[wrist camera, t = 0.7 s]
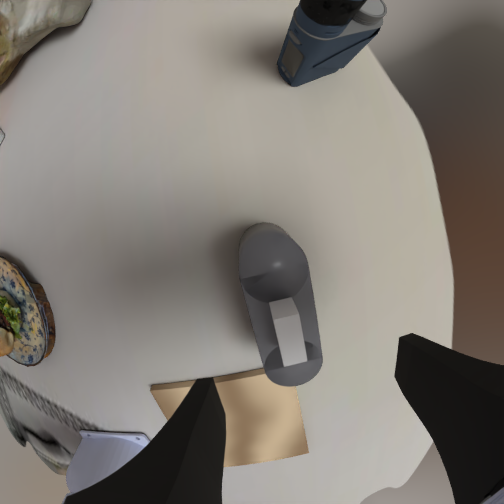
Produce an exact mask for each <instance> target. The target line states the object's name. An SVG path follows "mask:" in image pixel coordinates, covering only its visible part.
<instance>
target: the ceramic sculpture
mask: <svg viewBox="0 0 504 504" xmlns="http://www.w3.org/2000/svg"><path fill="white" fill-rule="evenodd" d="M90 4H91V0H0V85H2V84H3V83H4V82H5V81H6V80H7V78H8V77H9V76H10V74H11V73H12V71H13V70H14V68H15V67H16V65H17V64H18V63H19V61H20V60H21V58H22V56H23V55H24V54H25V53H26V52H27V51H28V50H30V49H31V48H32V47H33V46H34V45H36V44H37V43H38V42H39V41H40V40H41V39H42V38H44V37H45V36H47V35H48V34H49V33H51V32H52V31H53V30H54V29H56V28H58V27H66V26H71V25H75V24H77V23H79V22H80V21H81V20H82V18H83V16H84V14H85V12H86V11H87V9H88V8H89V6H90Z"/></svg>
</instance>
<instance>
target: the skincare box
mask: <svg viewBox="0 0 504 504" xmlns="http://www.w3.org/2000/svg"><path fill="white" fill-rule="evenodd" d="M3 139H4V134H3V132H2V131H1V130H0V144H1V142H2V140H3Z"/></svg>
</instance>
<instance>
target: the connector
mask: <svg viewBox="0 0 504 504" xmlns="http://www.w3.org/2000/svg"><path fill="white" fill-rule="evenodd" d="M239 277H240V282H241V286H242V289H243V293H244V297H245V301H246V304H247V308H248V312H249V316H250V319H251V323H252V327H253V330H254V334H255V338H256V341H257V345H258V349H259V352H260V356H261V360H262V363H263V367H264V370H265V373H266V375H267V377H268V378H269V379H270V380H271V381H272V382H273V383H275V384H277V385H280V386H286V387H292V386H298V385H301V384H304V383H306V382H308V381H310V380H311V379H312V378H314V377H315V376H316V375H317V373H318V372H319V370H320V369H321V366H322V362H323V357H322V349H321V342H320V335H319V328H318V321H317V315H316V308H315V302H314V296H313V290H312V284H311V278H310V272H309V267H308V262H307V258H306V256H305V254H304V252H303V250H302V249H301V248H300V247H299V246H298V244H297V243H296V242H295V241H294V240H293V239H292V238H291V237H290V236H289V235H288V234H287V233H286V232H285V231H284V230H283V229H282V228H281V227H279V226H277V225H275V224H272V223H259V224H256V225H254V226H252V227H250V228H249V229H248V230H247V231H246V232H245V233H244V234H243V236H242V238H241V240H240V244H239Z"/></svg>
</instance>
